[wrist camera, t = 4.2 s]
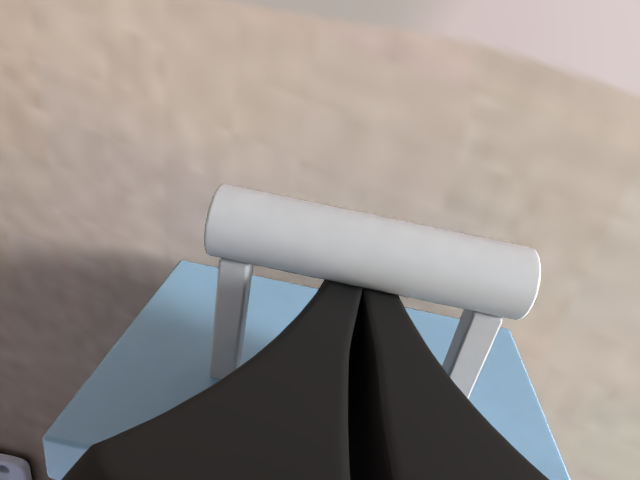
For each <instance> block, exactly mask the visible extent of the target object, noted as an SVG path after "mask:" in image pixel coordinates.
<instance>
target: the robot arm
mask: <svg viewBox="0 0 640 480" xmlns="http://www.w3.org/2000/svg"><path fill="white" fill-rule="evenodd" d="M0 480H32V476H31V470H30V466H29V463H28V462H27V461H26V460H24V459H22V458H19V457H15V456H11V455H6V454H2V453H0ZM62 480H549V479H548V478H547V477H546V476H545V475H544V474H542V473H541V472H540V471H539V470H538V469H537V468H536V467H535V466H534V465H533V464H531V463H530V462H529V461H528V460H527V459H526V458H525V457H524V456H523V455H522V454H521V453H520V452H518V451H517V450H516V449H515V448H514V447H513V446H512V445H511V444H510V443H509V442H508V441H507V440H506V439H505V438H504V437H503V436H502V435H501V434H500V433H499V432H498V431H497V430H496V429H495V428H494V427H493V426H492V425H491V424H490V423H489V422H488V420H487V419H486V418H485V417H484V416H483V415H482V414H481V413H480V412H479V411H478V410H477V409H476V407H475V406H474V405H473V404H472V403H471V402H470V400H469V399H468V398H467V397H466V396H465V395H464V393H463V392H462V391H461V390H460V389H459V388H458V387H457V385H456V384H455V383H454V382H453V380H452V379H451V378H450V377H449V375H448V374H447V373H446V371H445V370H444V369H443V367H442V366H441V364H440V363H439V362H438V360H437V359H436V357H435V356H434V355H433V353H432V352H431V350H430V349H429V347H428V346H427V344H426V343H425V341H424V339H423V338H422V336H421V335H420V333H419V331H418V330H417V328H416V327H415V325H414V323H413V321H412V320H411V318H410V316H409V315H408V313H407V311H406V309H405V307H404V306H403V304H402V302H401V300H400V298H399V296H398V295H396V294H391V293H386V292H381V291H377V290H372V289H367V288H362V287H358V286H353V285H348V284H343V283H339V282H334V281H329V280H324V282H323V283H322V285H321V287H320V288H319V289H318V291H317V292H316V294H315V295H314V296H313V298H312V299H311V300H310V301H309V303H308V304H307V305H306V306H305V307H304V309H303V310H302V311H301V312H300V313H299V314H298V316H297V317H296V318H295V319H294V320H293V321H292V322H291V323H290V324H289V325H288V326H287V327H286V328H285V329H284V330H283V331H282V332H281V333H280V334H279V335H278V336H277V337H276V338H274V339H273V340H272V341H271V342H270V343H269V344H268V345H267V346H265V347H264V348H263V349H262V350H261V351H259V352H258V353H257V354H256V355H254V356H253V357H252V358H251V359H249V360H248V361H247V362H245V363H244V364H243V365H241V366H240V367H238V368H237V369H236V370H234V371H233V372H231V373H230V374H229V375H227V376H226V377H224V378H223V379H221V380H220V381H218V382H217V383H215V384H214V385H212V386H210V387H209V388H207V389H205V390H204V391H202V392H200V393H198V394H197V395H195V396H193V397H191V398H190V399H188V400H186V401H184V402H182V403H181V404H179V405H177V406H175V407H174V408H172V409H170V410H168V411H166V412H164V413H162V414H160V415H159V416H157V417H155V418H153V419H150V420H148V421H146V422H144V423H141V424H139V425H137V426H135V427H133V428H130V429H128V430H126V431H124V432H121V433H119V434H117V435H115V436H113V437H110V438H108V439H106V440H103V441H101V442H98V443H96V444H93V445H91V446H90V447H89V449H88V450H87V451H86V452H85V453H84V454H83V455H82V456H81V457H80V458H79V460H78V461H77V462H76V463H75V464H74V465H73V466H72V468H71V469H70V470H69V471H68V472H67V473H66V475H65V476H64V477H63V478H62Z"/></svg>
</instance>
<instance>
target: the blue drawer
mask: <svg viewBox="0 0 640 480" xmlns="http://www.w3.org/2000/svg"><path fill="white" fill-rule="evenodd" d="M204 244H205V250H206V252H207V254H209V255H211V256H215V257H220V258H221V259H220V261H219V267H218V268H217V267H212V266H207V265H203V264H198V263H193V262H188V261H184V260H181V261H180V262H179V263H178V264H177V266H176V267H175V268H174V270H173V271H172V272H171V273H170V275H169V276H168V277H167V278H166V280H165V281H164V282H163V284H162V285H161V286H160V287H159V289H158V290H157V291H156V293H155V294H154V295H153V296H152V298H151V299H150V300H149V301H148V303H147V304H146V305H145V307H144V308H143V309H142V310H141V312H140V313H139V314H138V316H137V317H136V318H135V319H134V321H133V322H132V323H131V325H130V326H129V327H128V328H127V330H126V331H125V332H124V333H123V335H122V336H121V337H120V339H119V340H118V341H117V342H116V344H115V345H114V346H113V348H112V349H111V350H110V351H109V353H108V354H107V355H106V356H105V358H104V359H103V360H102V362H101V363H100V364H99V365H98V367H97V368H96V369H95V371H94V372H93V373H92V374H91V376H90V377H89V378H88V379H87V381H86V382H85V383H84V385H83V386H82V387H81V388H80V390H79V391H78V392H77V394H76V395H75V396H74V397H73V399H72V400H71V401H70V402H69V404H68V405H67V406H66V408H65V409H64V410H63V411H62V413H61V414H60V415H59V417H58V418H57V419H56V420H55V422H54V423H53V424H52V426H51V427H50V428H49V429H48V431H47V432H46V433H45V434H44V436H43V440H42V441H43V448H44V454H45V461H46V468H47V475H48V477H50V478H51V479H56V480H62V478H63V477H64V476H65V475H66V473H67V472H68V471H69V470H70V469H71V468H72V466H73V465H74V464H75V463H76V462H77V461H78V460H79V458H80V457H81V456H82V455H83V454H84V453H85V452H86V451H87V450H88V449H89V447H90V446H91V445H93V444H96V443H98V442H101V441H103V440H106V439H108V438H110V437H113V436H115V435H117V434H119V433H121V432H124V431H126V430H128V429H130V428H133V427H135V426H137V425H139V424H141V423H144V422H146V421H148V420H150V419H153V418H155V417H157V416H159V415H160V414H162V413H164V412H166V411H168V410H170V409H172V408H174V407H175V406H177V405H179V404H181V403H182V402H184V401H186V400H188V399H190V398H191V397H193V396H195V395H197V394H198V393H200V392H202V391H204V390H205V389H207V388H209V387H210V386H212V385H214V384H215V383H217V382H218V381H220V380H221V379H223V378H224V377H226V376H227V375H229V374H230V373H231V372H233V371H234V370H236V369H237V368H238V367H240V366H241V365H243V364H244V363H245V362H247V361H248V360H249V359H251V358H252V357H253V356H254V355H256V354H257V353H258V352H259V351H261V350H262V349H263V348H264V347H265V346H267V345H268V344H269V343H270V342H271V341H272V340H273V339H274V338H276V337H277V336H278V335H279V334H280V333H281V332H282V331H283V330H284V329H285V328H286V327H287V326H288V325H289V324H290V323H291V322H292V321H293V320H294V319H295V318H296V317H297V316H298V314H299V313H300V312H301V311H302V310H303V309H304V307H305V306H306V305H307V304H308V303H309V301H310V300H311V299H312V298H313V296H314V295H315V294H316V292H317V291H318V289H316V288H311V287H307V286H302V285H297V284H293V283H288V282H283V281H278V280H274V279H269V278H264V277H259V276H255V275H252V272H253V265H258V266H263V267H268V268H272V269H277V270H282V271H287V272H291V273H296V274H301V275H306V276H310V277H315V278H320V279H325V280H329V281H334V282H339V283H343V284H348V285H353V286H358V287H362V288H367V289H372V290H377V291H381V292H386V293H391V294H396V295H400V296H405V297H410V298H415V299H419V300H424V301H429V302H434V303H438V304H443V305H448V306H453V307H457V308H462V309H464V311H463V313H462V316H461V318H460V319H458V318H453V317H449V316H444V315H439V314H435V313H430V312H425V311H420V310H416V309H411V308H406V307H405V309H406V311H407V313H408V315H409V316H410V318H411V320H412V321H413V323H414V325H415V327H416V328H417V330H418V331H419V333H420V335H421V336H422V338H423V339H424V341H425V343H426V344H427V346H428V347H429V349H430V350H431V352H432V353H433V355H434V356H435V357H436V359H437V360H438V362H439V363H440V364H441V366H442V367H443V369H444V370H445V371H446V373H447V374H448V375H449V377H450V378H451V379H452V380H453V382H454V383H455V384H456V385H457V387H458V388H459V389H460V390H461V391H462V392H463V393H464V395H465V396H466V397H467V398H468V399H469V400H470V402H471V403H472V404H473V405H474V406H475V407H476V409H477V410H478V411H479V412H480V413H481V414H482V415H483V416H484V417H485V418H486V419H487V420H488V422H489V423H490V424H491V425H492V426H493V427H494V428H495V429H496V430H497V431H498V432H499V433H500V434H501V435H502V436H503V437H504V438H505V439H506V440H507V441H508V442H509V443H510V444H511V445H512V446H513V447H514V448H515V449H516V450H517V451H518V452H520V453H521V454H522V455H523V456H524V457H525V458H526V459H527V460H528V461H529V462H530V463H531V464H533V465H534V466H535V467H536V468H537V469H538V470H539V471H540V472H541V473H542V474H544V475H545V476H546V477H547V478H548V479H549V480H570V478H569V475H568V473H567V470H566V468H565V465H564V463H563V460H562V458H561V455H560V453H559V450H558V448H557V445H556V443H555V441H554V438H553V436H552V433H551V431H550V428H549V426H548V423H547V421H546V418H545V416H544V413H543V411H542V408H541V406H540V404H539V401H538V399H537V396H536V394H535V391H534V389H533V386H532V384H531V381H530V379H529V376H528V374H527V371H526V369H525V367H524V364H523V362H522V359H521V357H520V354H519V352H518V349H517V347H516V344H515V342H514V339H513V337H512V334H511V332H510V330H508V329H506V328H501V327H500V326H501V323H502V321H503V320H502V317H505V318H509V319H514V320H517V319H521V318H523V317H524V316H526V315H527V314H528V312H529V311H530V309H531V308H532V306H533V304H534V302H535V299H536V296H537V293H538V290H539V285H540V277H541V265H540V259H539V256H538V254H537V252H536V251H535V250H534V249H533V248H531V247H527V246H522V245H518V244H513V243H508V242H503V241H498V240H493V239H489V238H484V237H479V236H474V235H469V234H465V233H460V232H455V231H450V230H445V229H440V228H436V227H431V226H426V225H421V224H416V223H412V222H407V221H402V220H397V219H392V218H387V217H383V216H378V215H373V214H368V213H363V212H358V211H354V210H349V209H344V208H339V207H334V206H330V205H325V204H320V203H315V202H310V201H305V200H301V199H296V198H291V197H286V196H281V195H276V194H272V193H267V192H262V191H257V190H252V189H248V188H243V187H238V186H233V185H228V184H222V185H220V186H219V187H218V188H217V190H216V192H215V194H214V196H213V198H212V201H211V203H210V207H209V210H208V214H207V219H206V224H205V233H204Z"/></svg>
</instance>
